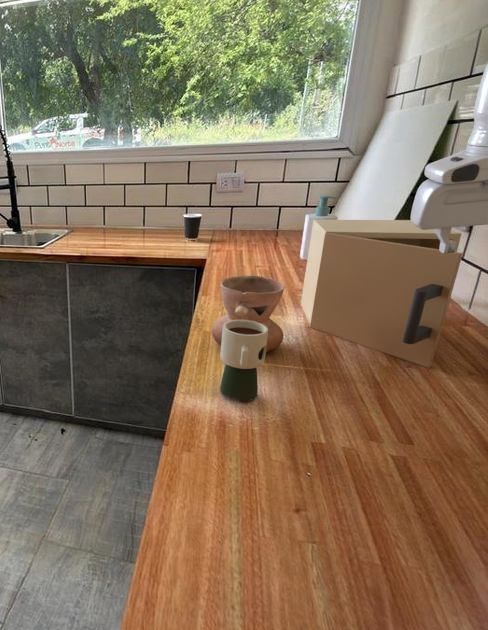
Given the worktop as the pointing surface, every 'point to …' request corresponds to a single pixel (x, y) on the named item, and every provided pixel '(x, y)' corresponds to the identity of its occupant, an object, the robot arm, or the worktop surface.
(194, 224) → the dixie cup
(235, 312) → the terracotta hourglass vessel
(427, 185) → the robot arm
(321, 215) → the soap bottle
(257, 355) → the character mug
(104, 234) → the worktop surface
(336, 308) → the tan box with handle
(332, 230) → the cupboard
